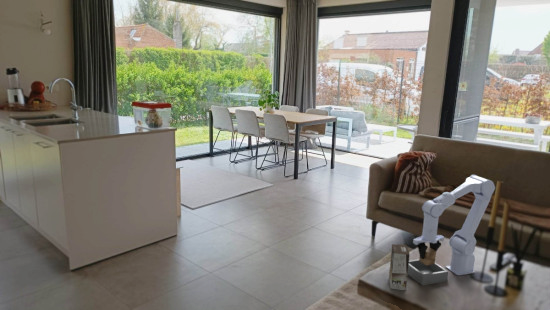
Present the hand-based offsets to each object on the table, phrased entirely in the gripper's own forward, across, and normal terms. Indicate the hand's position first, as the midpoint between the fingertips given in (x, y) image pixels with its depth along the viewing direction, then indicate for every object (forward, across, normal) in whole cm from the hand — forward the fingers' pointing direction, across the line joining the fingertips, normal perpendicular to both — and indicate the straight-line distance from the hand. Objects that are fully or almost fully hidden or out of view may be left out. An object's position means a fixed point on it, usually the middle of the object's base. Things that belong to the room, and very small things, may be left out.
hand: (426, 257), depth 173 cm
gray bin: (+9, 0, 0) cm, 9 cm away
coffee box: (+9, -16, -2) cm, 19 cm away
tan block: (+2, 0, 0) cm, 2 cm away
